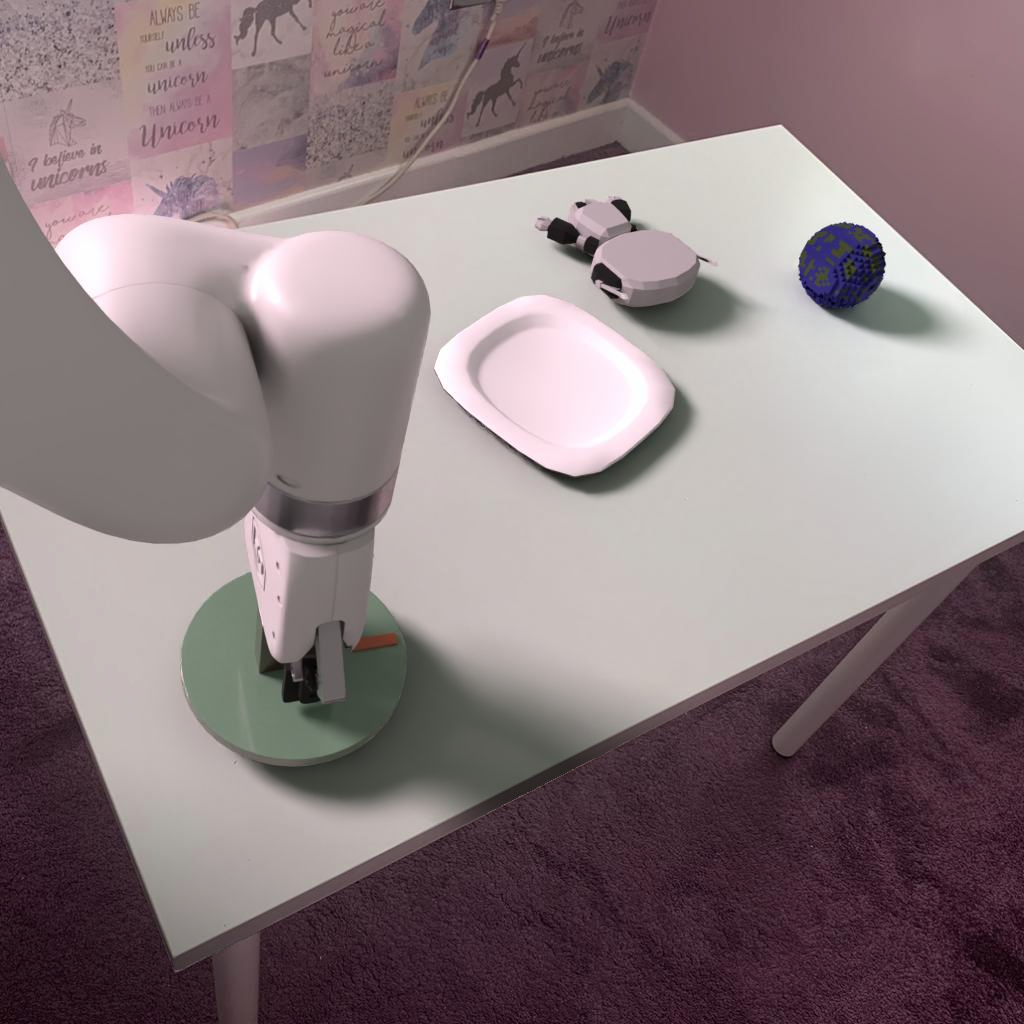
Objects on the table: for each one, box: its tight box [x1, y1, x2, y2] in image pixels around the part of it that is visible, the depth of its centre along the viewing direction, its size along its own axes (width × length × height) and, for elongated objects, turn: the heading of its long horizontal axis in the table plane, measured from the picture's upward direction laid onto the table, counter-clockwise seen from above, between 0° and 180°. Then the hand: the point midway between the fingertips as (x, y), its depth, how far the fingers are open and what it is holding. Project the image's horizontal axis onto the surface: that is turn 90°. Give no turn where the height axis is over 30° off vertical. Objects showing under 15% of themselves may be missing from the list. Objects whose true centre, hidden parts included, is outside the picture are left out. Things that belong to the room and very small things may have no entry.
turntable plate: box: [179, 571, 408, 767], centre depth 65 cm, size 14×14×7 cm
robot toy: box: [533, 195, 720, 308], centre depth 102 cm, size 12×4×15 cm
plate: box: [433, 294, 676, 478], centre depth 90 cm, size 18×18×2 cm
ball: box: [797, 221, 887, 310], centre depth 106 cm, size 8×8×8 cm
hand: (297, 648), depth 66 cm, fingers open, 5 cm apart
